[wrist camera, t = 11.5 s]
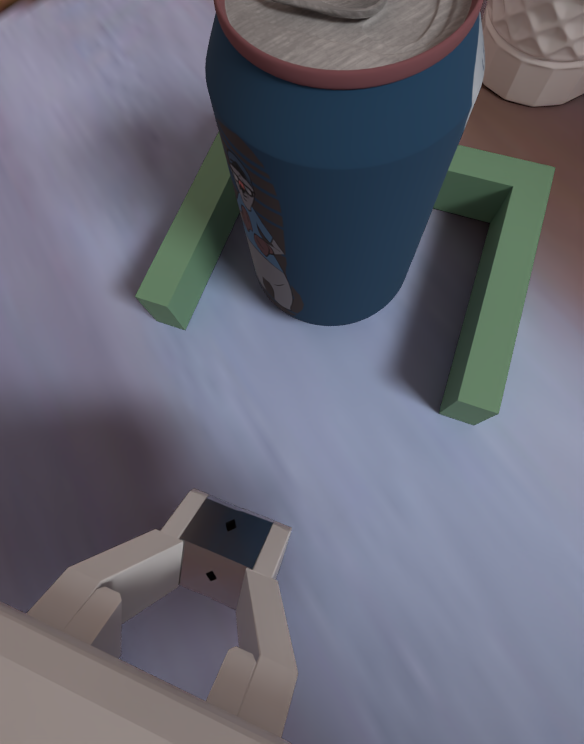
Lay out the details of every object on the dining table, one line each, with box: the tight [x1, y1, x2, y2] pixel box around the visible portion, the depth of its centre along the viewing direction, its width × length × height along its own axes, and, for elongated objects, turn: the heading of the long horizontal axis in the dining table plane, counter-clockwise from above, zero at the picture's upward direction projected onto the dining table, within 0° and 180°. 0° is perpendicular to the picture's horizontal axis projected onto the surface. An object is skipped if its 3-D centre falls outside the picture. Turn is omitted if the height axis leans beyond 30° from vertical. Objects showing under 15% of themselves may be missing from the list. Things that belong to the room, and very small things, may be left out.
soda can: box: [205, 0, 485, 326], centre depth 14 cm, size 7×7×12 cm
